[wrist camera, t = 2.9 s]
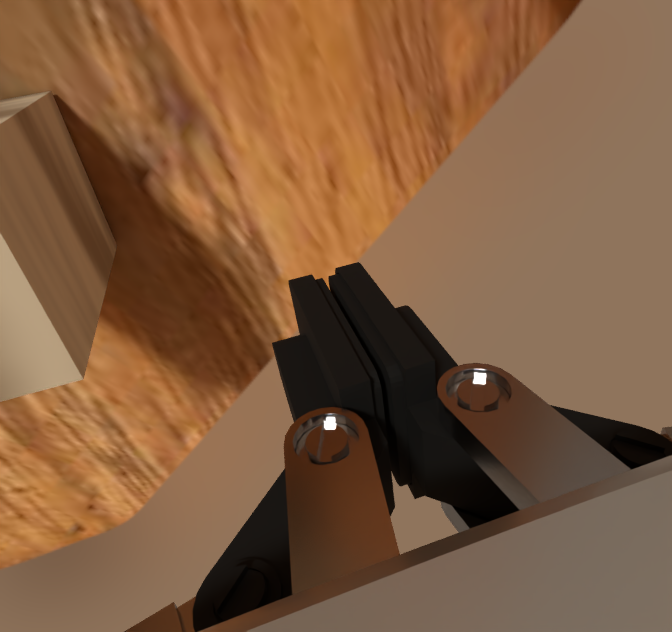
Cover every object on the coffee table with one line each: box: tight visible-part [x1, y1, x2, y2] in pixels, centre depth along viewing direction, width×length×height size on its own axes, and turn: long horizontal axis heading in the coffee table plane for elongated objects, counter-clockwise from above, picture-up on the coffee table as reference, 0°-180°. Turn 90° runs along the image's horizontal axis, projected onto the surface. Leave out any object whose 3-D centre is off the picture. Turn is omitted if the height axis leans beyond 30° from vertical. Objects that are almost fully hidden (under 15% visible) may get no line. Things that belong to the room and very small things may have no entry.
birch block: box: [0, 91, 117, 402], centre depth 20 cm, size 5×8×12 cm, turn 8°
